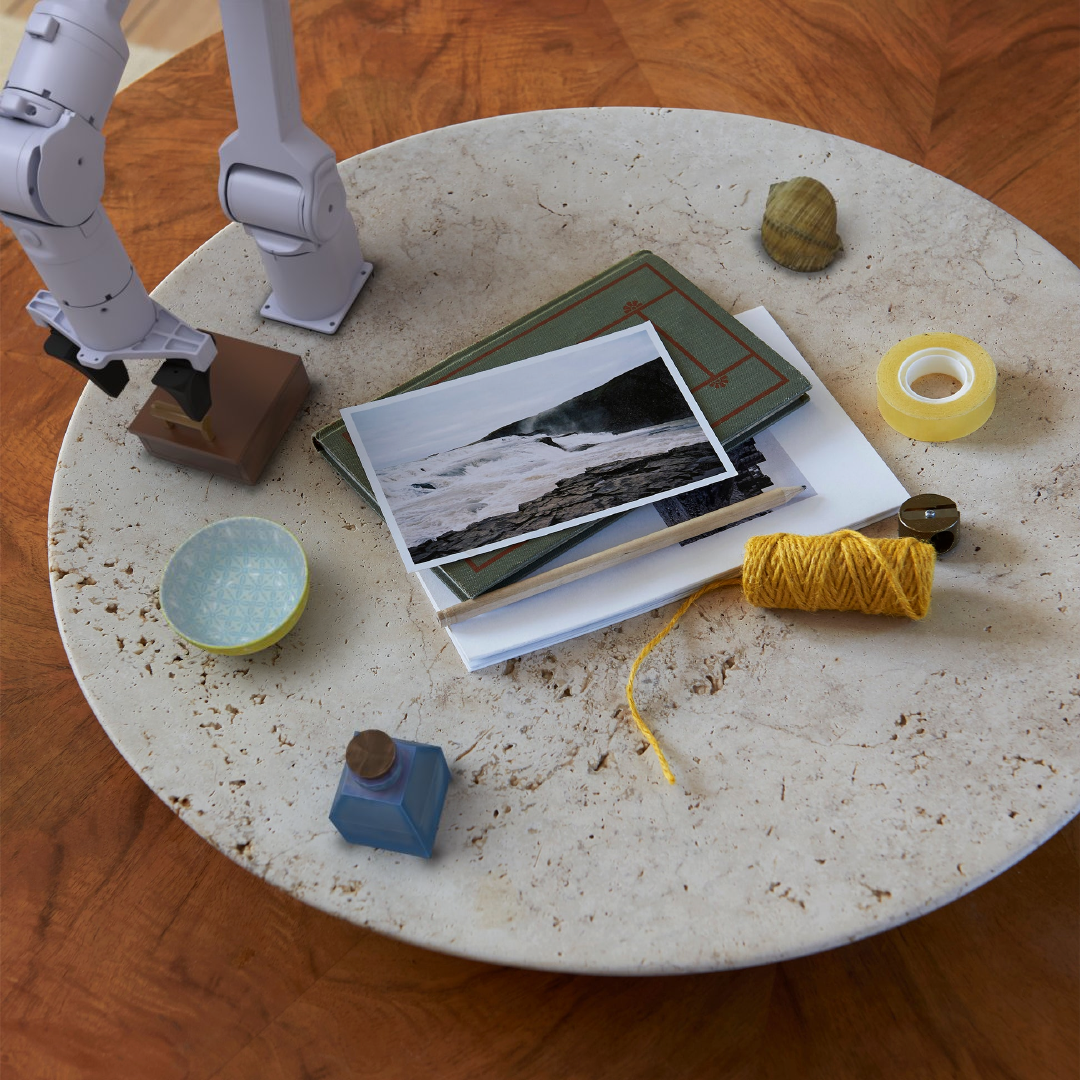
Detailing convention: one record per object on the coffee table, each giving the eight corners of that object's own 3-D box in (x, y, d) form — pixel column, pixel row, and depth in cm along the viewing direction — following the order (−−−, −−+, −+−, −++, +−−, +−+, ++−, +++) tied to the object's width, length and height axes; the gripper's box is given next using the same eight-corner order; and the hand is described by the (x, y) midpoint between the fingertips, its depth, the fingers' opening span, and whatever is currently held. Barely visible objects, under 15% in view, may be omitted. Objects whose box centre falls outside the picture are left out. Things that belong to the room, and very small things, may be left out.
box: (253, 486, 91) (240, 461, 88) (148, 454, 93) (132, 429, 90) (312, 387, 96) (302, 360, 93) (212, 359, 99) (199, 332, 95)
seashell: (823, 286, 106) (874, 217, 102) (807, 289, 100) (861, 216, 96) (748, 230, 108) (795, 161, 104) (728, 230, 102) (778, 156, 98)
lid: (237, 465, 87) (225, 440, 84) (129, 433, 90) (113, 408, 87) (302, 359, 93) (293, 333, 90) (199, 332, 95) (186, 305, 92)
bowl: (201, 702, 81) (174, 670, 75) (172, 582, 86) (145, 544, 81) (342, 651, 83) (325, 616, 77) (304, 536, 88) (286, 496, 83)
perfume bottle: (429, 858, 74) (404, 810, 64) (346, 842, 75) (308, 791, 65) (450, 775, 77) (430, 715, 67) (370, 760, 78) (337, 699, 68)
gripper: (-31, 293, 71) (56, 415, 83) (152, 344, 68) (215, 462, 80) (28, 224, 75) (104, 350, 86) (205, 269, 72) (258, 393, 83)
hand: (160, 400), depth 83 cm, fingers open, 7 cm apart
